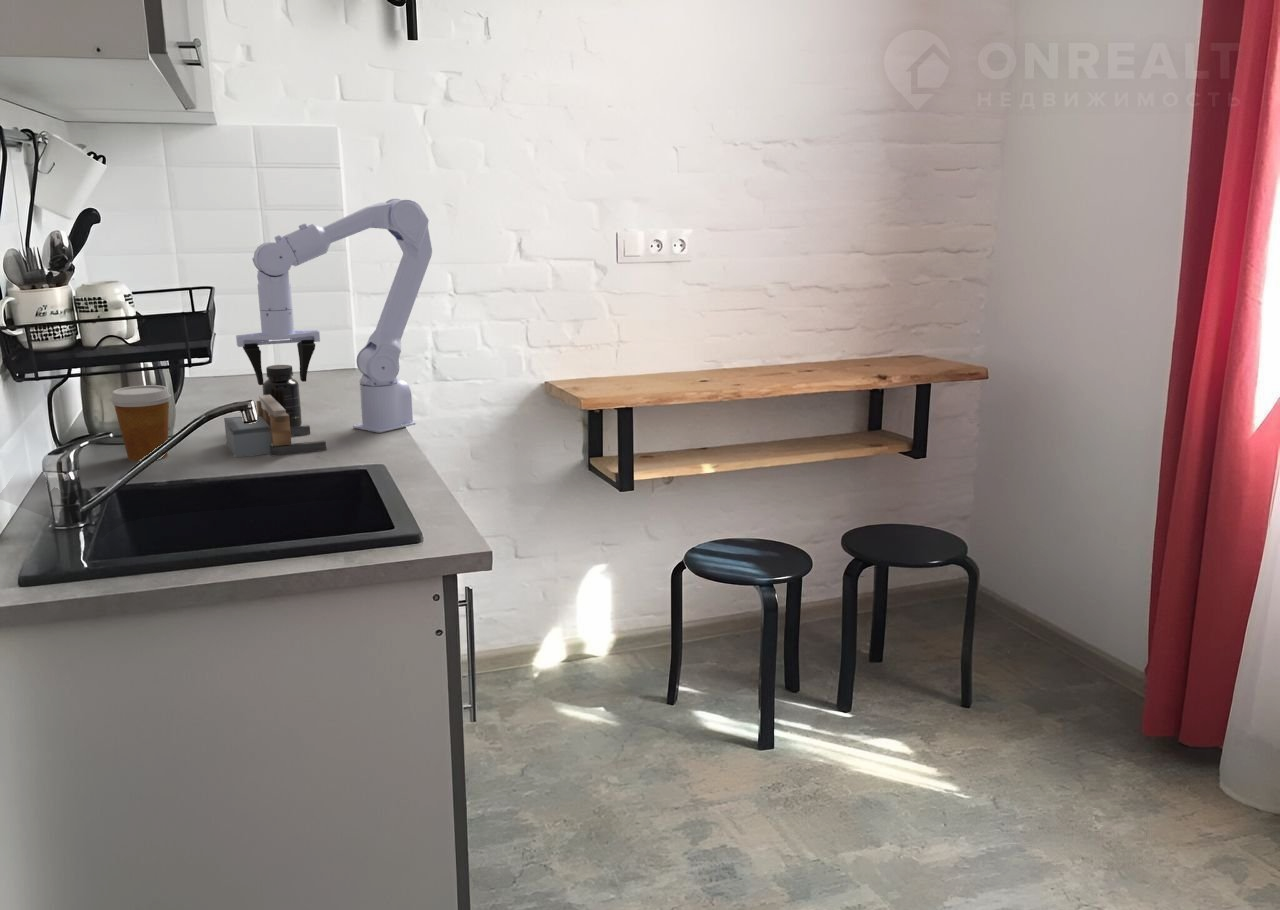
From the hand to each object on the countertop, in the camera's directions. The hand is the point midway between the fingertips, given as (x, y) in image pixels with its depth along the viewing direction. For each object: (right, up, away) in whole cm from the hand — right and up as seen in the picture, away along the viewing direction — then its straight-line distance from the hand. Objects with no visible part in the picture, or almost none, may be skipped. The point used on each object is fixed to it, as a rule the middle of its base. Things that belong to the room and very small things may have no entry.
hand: (282, 382), depth 200 cm
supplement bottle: (-3, -8, +11) cm, 14 cm away
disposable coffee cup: (-19, -14, -12) cm, 27 cm away
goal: (-3, -12, -6) cm, 14 cm away
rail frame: (+3, -11, -3) cm, 12 cm away
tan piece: (0, -12, -4) cm, 12 cm away
